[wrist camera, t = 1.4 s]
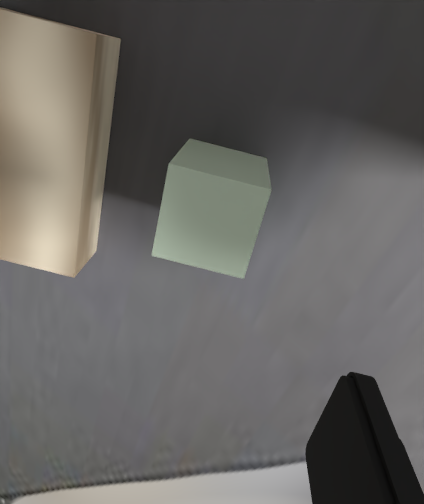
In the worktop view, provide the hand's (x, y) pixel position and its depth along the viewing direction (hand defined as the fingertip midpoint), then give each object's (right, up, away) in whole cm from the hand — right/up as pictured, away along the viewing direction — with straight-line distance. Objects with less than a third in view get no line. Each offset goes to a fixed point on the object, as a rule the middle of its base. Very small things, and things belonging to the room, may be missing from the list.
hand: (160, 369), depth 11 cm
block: (+2, +7, +16) cm, 17 cm away
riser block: (-11, +11, +15) cm, 21 cm away
